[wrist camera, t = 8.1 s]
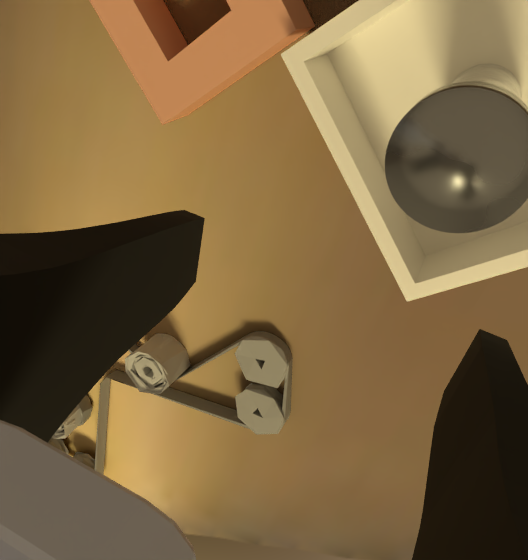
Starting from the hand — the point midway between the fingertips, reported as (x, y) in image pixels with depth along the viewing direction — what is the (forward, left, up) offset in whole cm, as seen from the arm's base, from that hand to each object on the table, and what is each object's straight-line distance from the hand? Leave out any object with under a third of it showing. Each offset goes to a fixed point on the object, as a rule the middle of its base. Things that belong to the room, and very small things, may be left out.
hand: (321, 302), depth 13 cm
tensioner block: (-10, -4, -10) cm, 15 cm away
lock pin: (-1, +4, -9) cm, 10 cm away
